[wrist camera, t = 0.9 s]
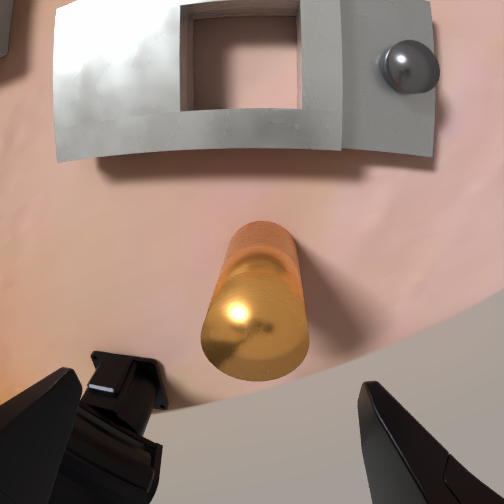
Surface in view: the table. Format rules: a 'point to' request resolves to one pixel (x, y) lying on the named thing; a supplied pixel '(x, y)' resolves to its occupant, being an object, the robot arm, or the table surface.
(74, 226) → the table surface
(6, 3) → the grey rectangular frame
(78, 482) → the robot arm
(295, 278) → the gold metallic cylinder
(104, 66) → the grey panel with knob
